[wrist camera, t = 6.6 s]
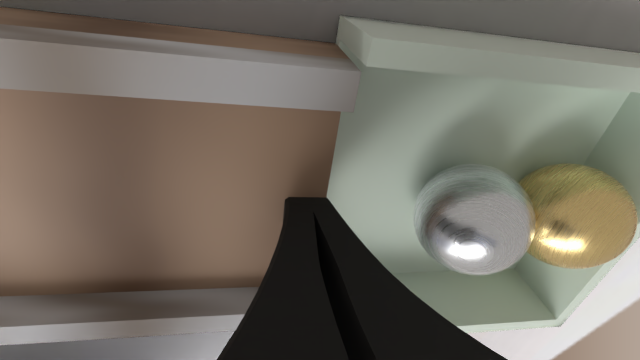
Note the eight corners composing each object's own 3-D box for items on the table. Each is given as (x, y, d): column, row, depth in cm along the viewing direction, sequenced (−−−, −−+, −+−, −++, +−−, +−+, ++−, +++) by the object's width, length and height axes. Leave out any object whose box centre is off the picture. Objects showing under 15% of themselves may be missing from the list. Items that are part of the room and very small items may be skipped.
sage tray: (302, 275, 16) (311, 344, 13) (339, 15, 10) (372, 37, 7) (513, 269, 18) (560, 326, 15) (653, 54, 12) (774, 83, 9)
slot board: (-47, 273, 13) (-125, 353, 10) (-255, -21, 8) (-531, -12, 5) (303, 264, 16) (312, 325, 13) (335, 43, 10) (361, 71, 8)
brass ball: (471, 237, 14) (570, 307, 11) (509, 153, 12) (641, 212, 9) (521, 216, 16) (616, 272, 13) (561, 141, 14) (682, 187, 11)
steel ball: (404, 209, 15) (389, 267, 12) (443, 132, 13) (437, 176, 10) (491, 246, 14) (501, 319, 11) (547, 170, 12) (581, 233, 9)
